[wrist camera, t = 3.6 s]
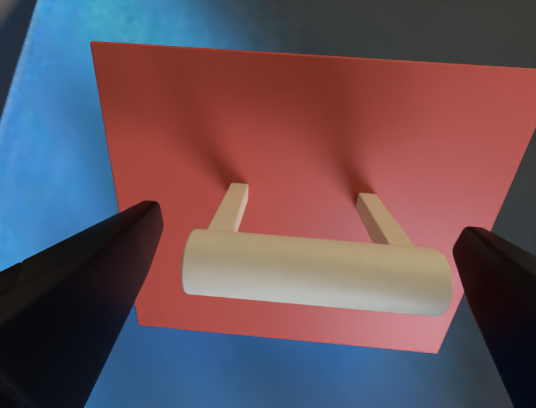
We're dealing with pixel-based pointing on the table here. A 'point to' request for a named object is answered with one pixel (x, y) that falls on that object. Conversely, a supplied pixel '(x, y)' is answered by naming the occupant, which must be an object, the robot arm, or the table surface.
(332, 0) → the table surface
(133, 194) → the lid
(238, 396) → the table surface
